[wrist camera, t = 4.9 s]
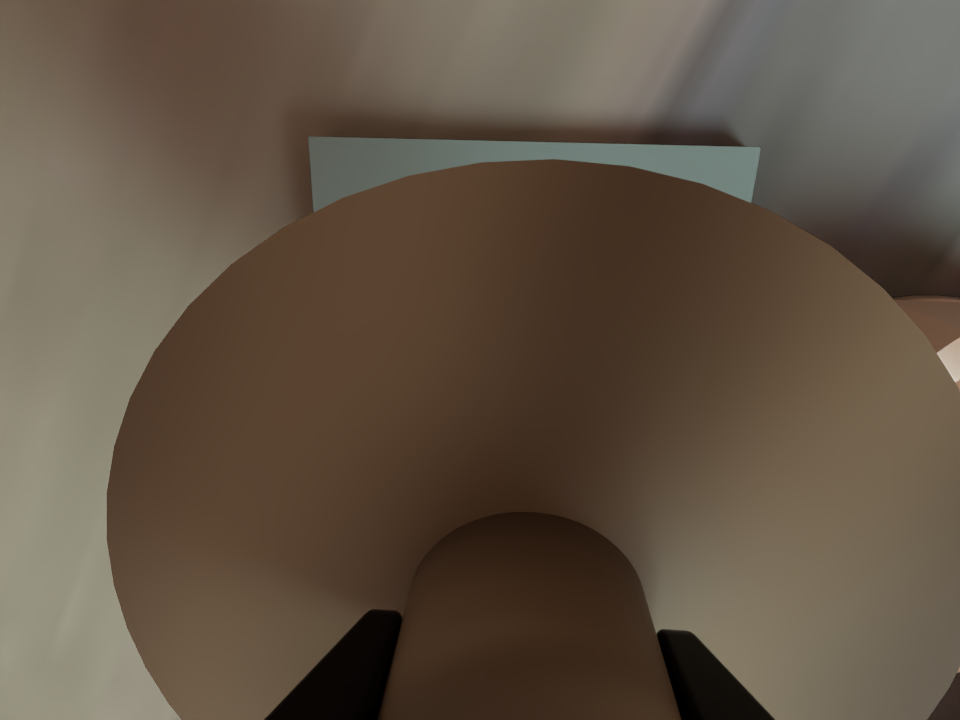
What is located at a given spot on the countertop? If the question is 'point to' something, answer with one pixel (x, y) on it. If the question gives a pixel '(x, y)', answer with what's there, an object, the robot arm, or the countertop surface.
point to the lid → (543, 459)
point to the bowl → (937, 327)
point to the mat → (382, 160)
